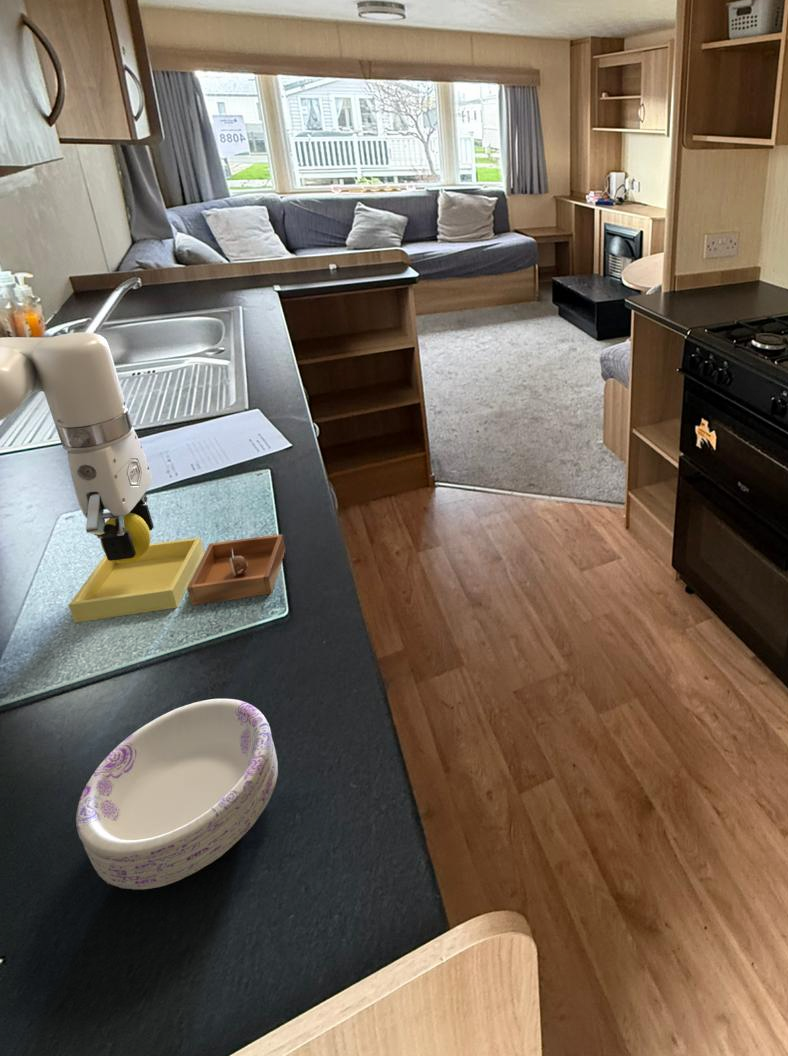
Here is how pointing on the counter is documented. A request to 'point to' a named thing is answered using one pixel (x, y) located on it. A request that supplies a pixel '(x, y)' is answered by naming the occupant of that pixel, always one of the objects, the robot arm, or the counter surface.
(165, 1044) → the counter surface
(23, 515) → the counter surface
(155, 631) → the counter surface
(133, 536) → the lemon
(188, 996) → the counter surface
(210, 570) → the brown bin
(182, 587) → the yellow bin
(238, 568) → the chocolate
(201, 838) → the paper bowls
